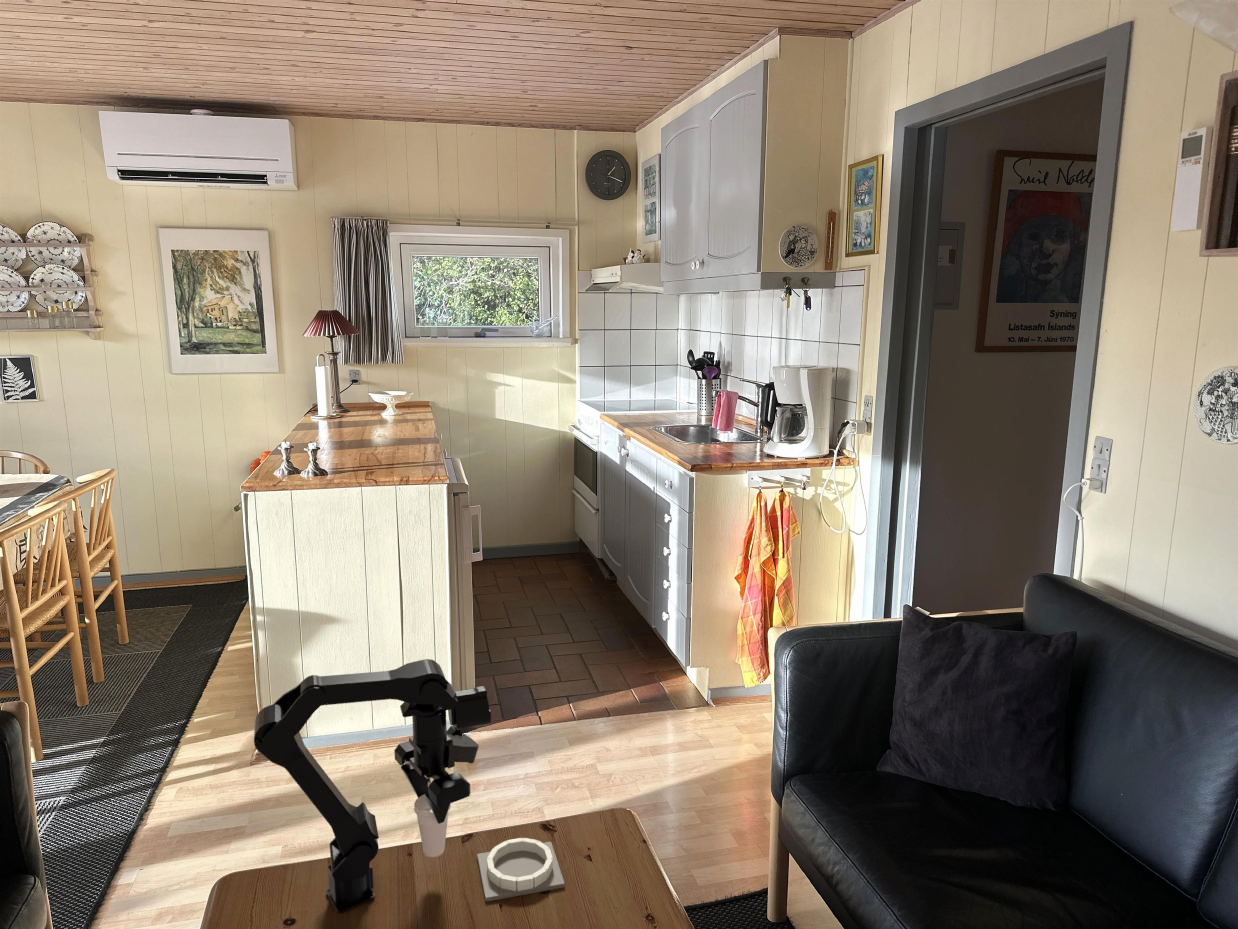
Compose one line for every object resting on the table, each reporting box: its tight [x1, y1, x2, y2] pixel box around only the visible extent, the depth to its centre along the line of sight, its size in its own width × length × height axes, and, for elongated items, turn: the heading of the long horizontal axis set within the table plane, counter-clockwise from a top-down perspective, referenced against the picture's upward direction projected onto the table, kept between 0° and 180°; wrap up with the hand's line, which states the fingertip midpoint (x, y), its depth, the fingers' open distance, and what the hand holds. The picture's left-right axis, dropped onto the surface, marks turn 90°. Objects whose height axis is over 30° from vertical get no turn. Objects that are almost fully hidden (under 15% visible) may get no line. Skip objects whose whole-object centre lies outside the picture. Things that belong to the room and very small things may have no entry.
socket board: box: [476, 837, 566, 902], centre depth 156 cm, size 14×12×3 cm
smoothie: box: [413, 780, 452, 858], centre depth 152 cm, size 6×6×14 cm
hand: (432, 813), depth 152 cm, fingers closed on smoothie, 6 cm apart
